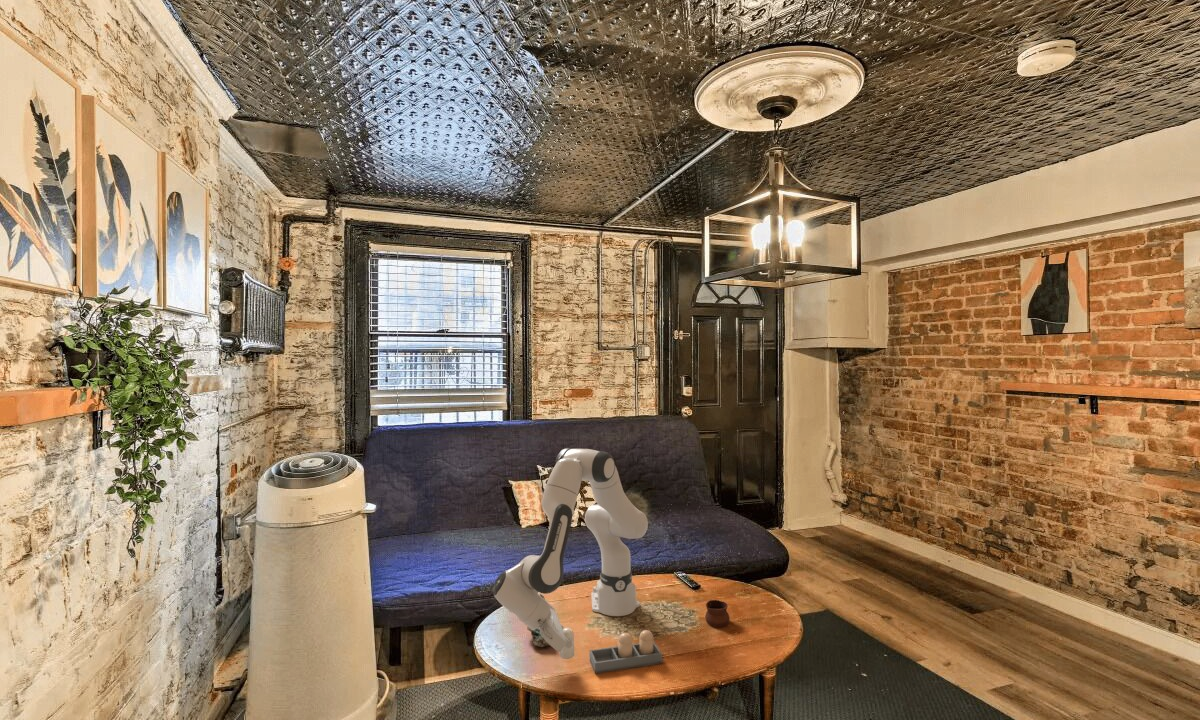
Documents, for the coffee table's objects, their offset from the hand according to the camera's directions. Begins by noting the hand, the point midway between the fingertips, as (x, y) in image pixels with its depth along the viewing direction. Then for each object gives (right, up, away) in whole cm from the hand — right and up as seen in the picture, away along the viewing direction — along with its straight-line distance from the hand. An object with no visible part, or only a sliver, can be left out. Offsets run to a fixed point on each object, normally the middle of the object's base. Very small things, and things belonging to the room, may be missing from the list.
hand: (568, 640), depth 170 cm
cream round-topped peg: (-1, -4, 0) cm, 4 cm away
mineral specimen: (-10, -9, +17) cm, 21 cm away
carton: (+18, -9, +4) cm, 20 cm away
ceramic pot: (+52, -9, +29) cm, 61 cm away
